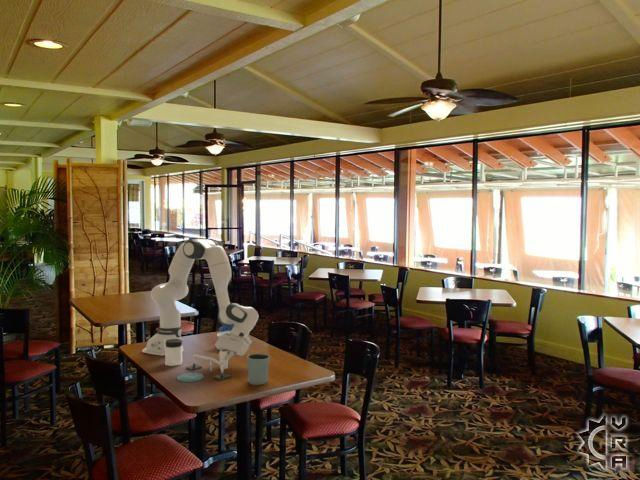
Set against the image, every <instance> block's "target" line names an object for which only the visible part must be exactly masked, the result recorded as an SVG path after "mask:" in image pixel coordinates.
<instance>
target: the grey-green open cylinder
mask: <svg viewBox="0 0 640 480" xmlns="http://www.w3.org/2000/svg"><path fill="white" fill-rule="evenodd" d="M246 359H247V372H248V375H247V378H248V379H247V381H248V384H250V385H253V386H255V385H256V386H258V385H259V386H261V385H264V384H266V383H267V382H268V375H269V374H268V373H269V365H270V364H269V363H270V355H269V354H266V353H258V352H257V353H250V354H248V355H247V356H246Z"/></svg>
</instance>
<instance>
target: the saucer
mask: <svg viewBox="0 0 640 480" xmlns="http://www.w3.org/2000/svg"><path fill="white" fill-rule="evenodd" d="M203 379H204V374H203V373H200V372H187V373H186V372H185V373H182V374H179V375H178V376H177V377H176V380H177V382H182V383H194V382H199V381H201V380H203Z"/></svg>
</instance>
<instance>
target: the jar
mask: <svg viewBox="0 0 640 480" xmlns="http://www.w3.org/2000/svg"><path fill="white" fill-rule="evenodd" d="M165 345H166V347H165V355H164V362H165V363H164V364H165V366H170V367H175V366H180V365H182V363H183V352H182V346H183V340H182V338H181V339H169V340H166V343H165Z"/></svg>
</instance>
